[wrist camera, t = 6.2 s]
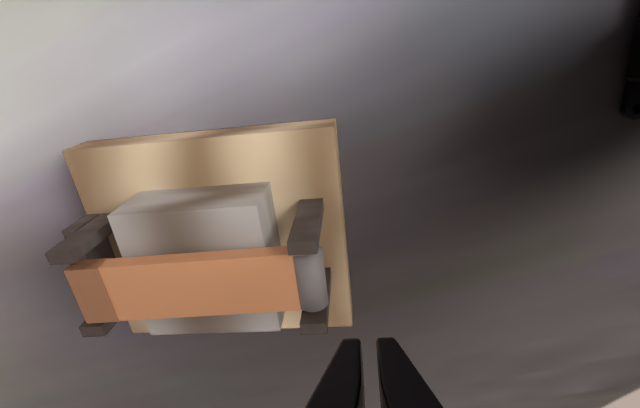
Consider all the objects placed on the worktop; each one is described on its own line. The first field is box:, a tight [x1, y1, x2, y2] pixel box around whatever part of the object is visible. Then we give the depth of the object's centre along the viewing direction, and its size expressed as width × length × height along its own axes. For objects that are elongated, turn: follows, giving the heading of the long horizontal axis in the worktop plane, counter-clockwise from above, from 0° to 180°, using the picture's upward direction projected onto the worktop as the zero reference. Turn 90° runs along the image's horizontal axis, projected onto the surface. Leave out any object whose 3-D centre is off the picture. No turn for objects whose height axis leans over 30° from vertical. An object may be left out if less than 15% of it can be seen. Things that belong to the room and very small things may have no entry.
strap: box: [64, 245, 329, 324], centre depth 17 cm, size 12×3×1 cm, turn 96°
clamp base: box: [45, 118, 352, 337], centre depth 20 cm, size 14×12×6 cm
